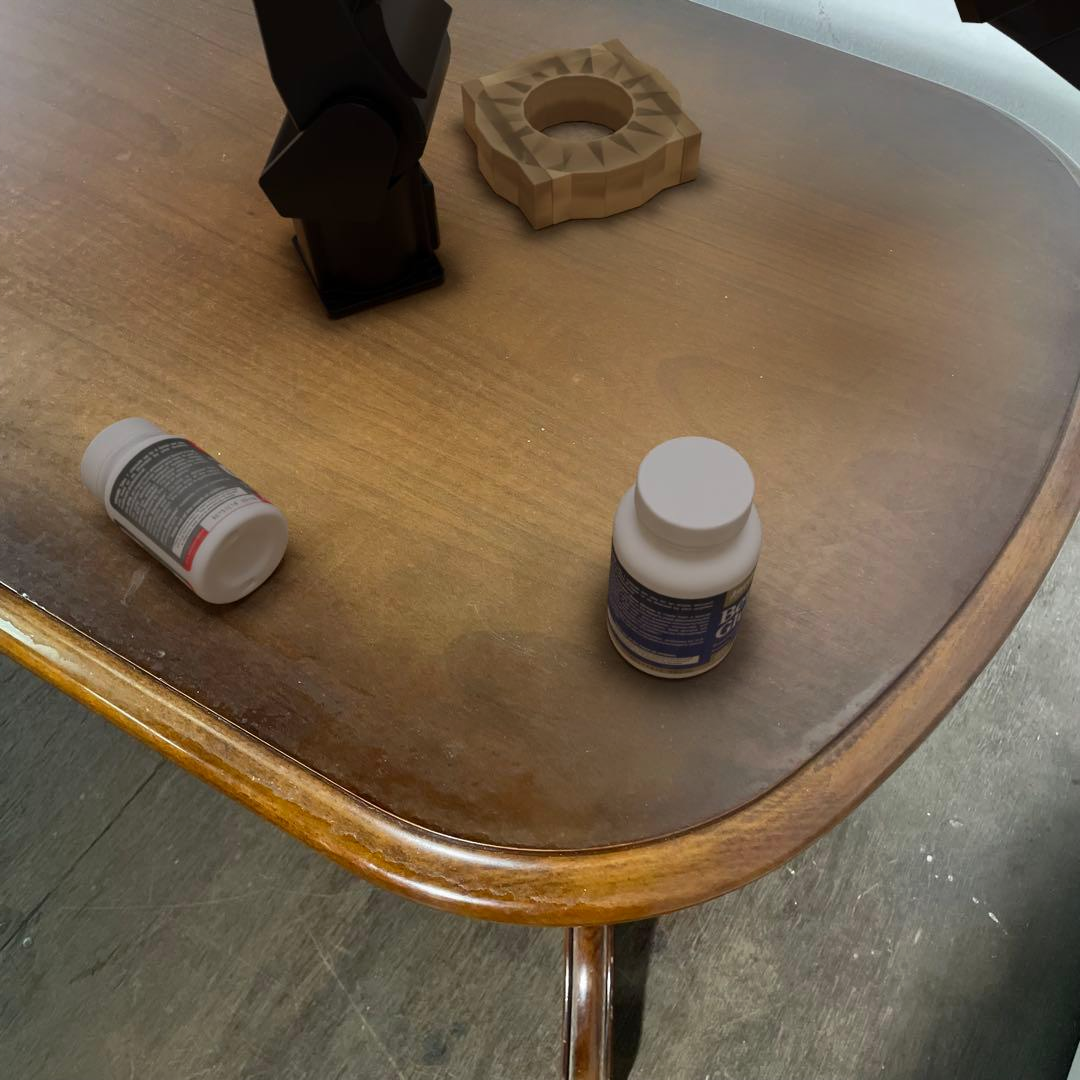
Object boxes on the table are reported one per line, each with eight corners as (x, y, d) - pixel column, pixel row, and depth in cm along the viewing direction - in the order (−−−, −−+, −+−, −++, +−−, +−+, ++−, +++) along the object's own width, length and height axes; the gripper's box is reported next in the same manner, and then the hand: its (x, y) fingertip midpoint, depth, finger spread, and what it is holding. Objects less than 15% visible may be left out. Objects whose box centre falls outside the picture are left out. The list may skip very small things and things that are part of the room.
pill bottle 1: (294, 491, 43) (165, 391, 46) (196, 543, 40) (65, 432, 43) (291, 573, 46) (170, 474, 49) (201, 626, 43) (78, 518, 46)
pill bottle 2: (730, 693, 42) (769, 559, 34) (595, 670, 42) (603, 533, 34) (743, 579, 45) (782, 430, 37) (617, 558, 45) (628, 409, 37)
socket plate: (528, 242, 57) (526, 196, 54) (449, 126, 62) (444, 79, 60) (713, 182, 59) (720, 135, 57) (620, 75, 65) (622, 29, 62)
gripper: (1405, -567, 21) (1419, 55, 32) (1198, -722, 32) (1259, -215, 42) (868, -231, 27) (1025, 203, 37) (839, -453, 38) (969, -65, 48)
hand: (1076, 15), depth 41 cm, fingers open, 9 cm apart
